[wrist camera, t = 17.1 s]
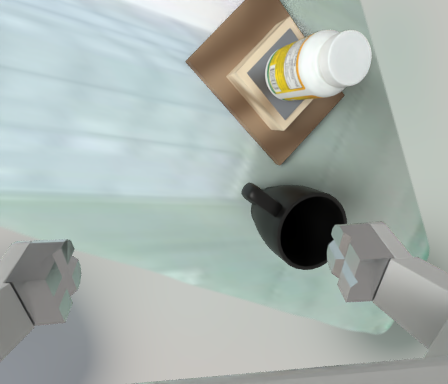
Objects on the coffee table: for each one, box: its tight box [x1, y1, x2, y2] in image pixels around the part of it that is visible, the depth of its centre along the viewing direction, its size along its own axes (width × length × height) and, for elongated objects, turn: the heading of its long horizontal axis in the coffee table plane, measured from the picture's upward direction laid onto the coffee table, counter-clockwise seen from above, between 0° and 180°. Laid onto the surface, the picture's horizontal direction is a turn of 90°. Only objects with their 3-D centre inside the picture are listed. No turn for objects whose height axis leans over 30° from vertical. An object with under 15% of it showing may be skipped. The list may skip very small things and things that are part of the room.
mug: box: [241, 183, 347, 270], centre depth 35 cm, size 8×12×10 cm
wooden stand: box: [185, 0, 344, 165], centre depth 35 cm, size 16×12×4 cm
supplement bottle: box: [265, 30, 372, 101], centre depth 28 cm, size 5×5×10 cm
